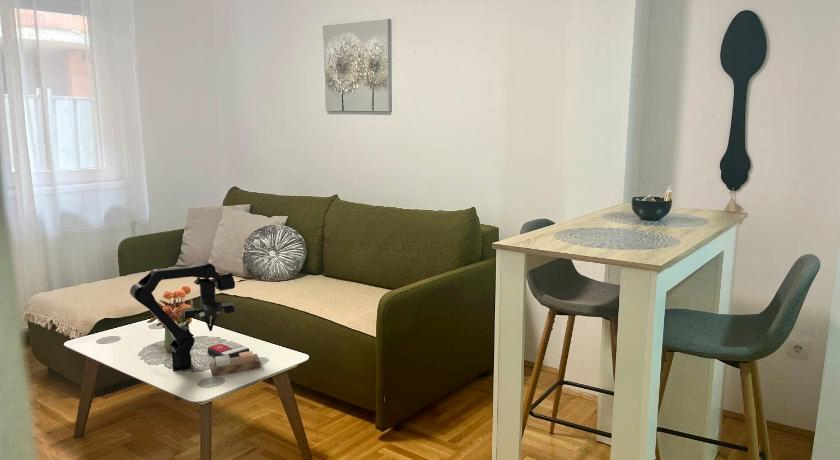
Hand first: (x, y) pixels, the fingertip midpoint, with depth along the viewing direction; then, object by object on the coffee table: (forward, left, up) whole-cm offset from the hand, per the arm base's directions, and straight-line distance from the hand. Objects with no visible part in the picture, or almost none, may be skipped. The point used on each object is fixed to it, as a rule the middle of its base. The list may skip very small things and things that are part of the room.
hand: (210, 330), depth 248 cm
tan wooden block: (+12, -13, -11) cm, 21 cm away
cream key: (+2, -14, -11) cm, 18 cm away
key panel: (+7, -14, -12) cm, 19 cm away
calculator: (+6, +2, -13) cm, 14 cm away
